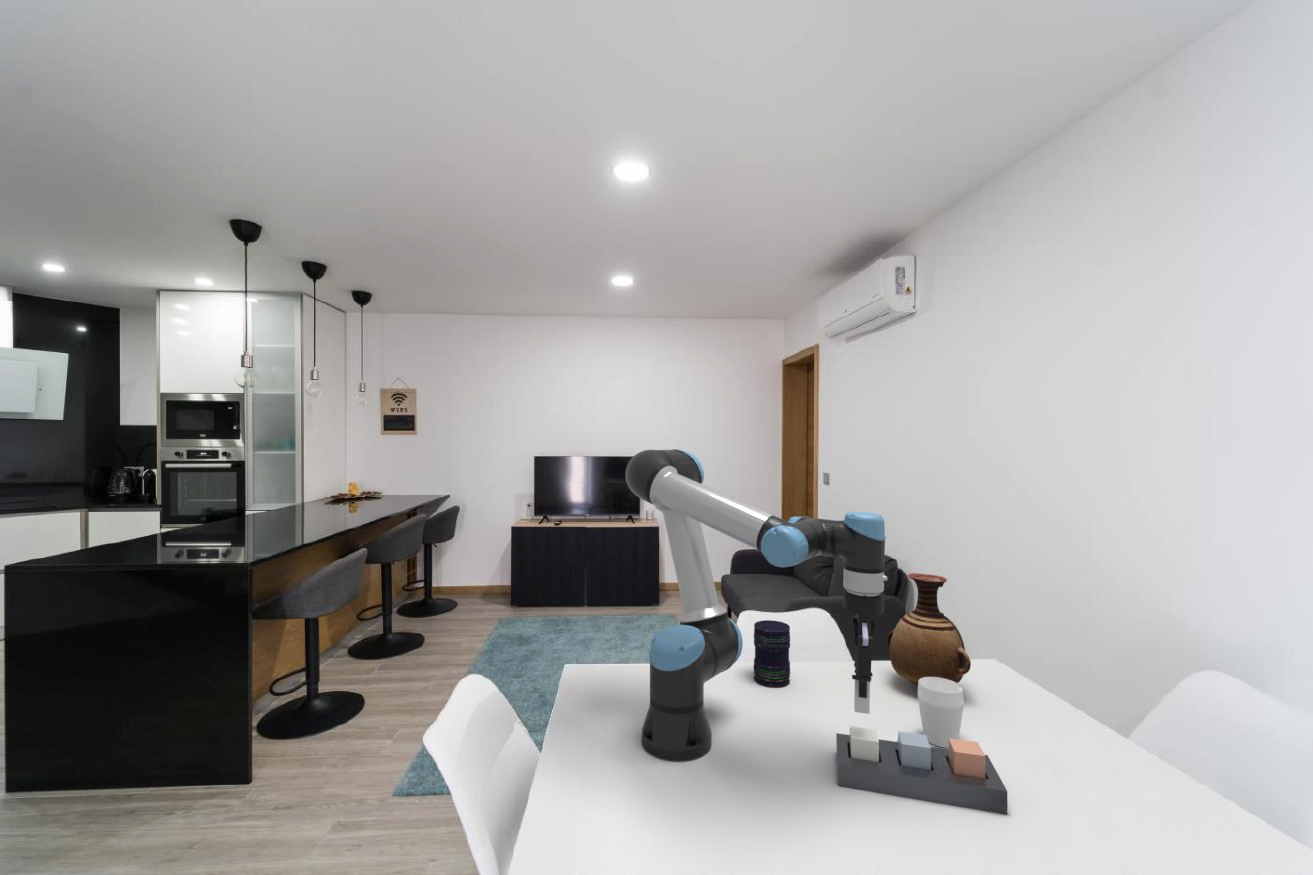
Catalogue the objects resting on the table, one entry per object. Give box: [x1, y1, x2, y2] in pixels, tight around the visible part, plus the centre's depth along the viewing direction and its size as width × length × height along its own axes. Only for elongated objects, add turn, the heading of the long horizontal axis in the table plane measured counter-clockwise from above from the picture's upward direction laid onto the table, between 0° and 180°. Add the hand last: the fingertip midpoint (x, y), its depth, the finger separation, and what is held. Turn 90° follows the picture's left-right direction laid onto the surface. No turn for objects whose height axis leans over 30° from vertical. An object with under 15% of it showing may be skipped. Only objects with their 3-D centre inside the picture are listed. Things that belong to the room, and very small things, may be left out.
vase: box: [886, 572, 971, 687], centre depth 146 cm, size 21×18×30 cm
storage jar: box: [753, 619, 791, 689], centre depth 152 cm, size 10×10×15 cm
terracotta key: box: [948, 738, 986, 779], centre depth 103 cm, size 5×5×5 cm
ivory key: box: [849, 725, 879, 762], centre depth 108 cm, size 5×5×5 cm
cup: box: [917, 677, 965, 749], centre depth 121 cm, size 9×9×12 cm
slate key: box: [897, 730, 931, 770], centre depth 106 cm, size 5×5×5 cm
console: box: [835, 733, 1009, 815], centre depth 106 cm, size 28×12×4 cm, turn 73°
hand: (861, 711), depth 109 cm, fingers closed
